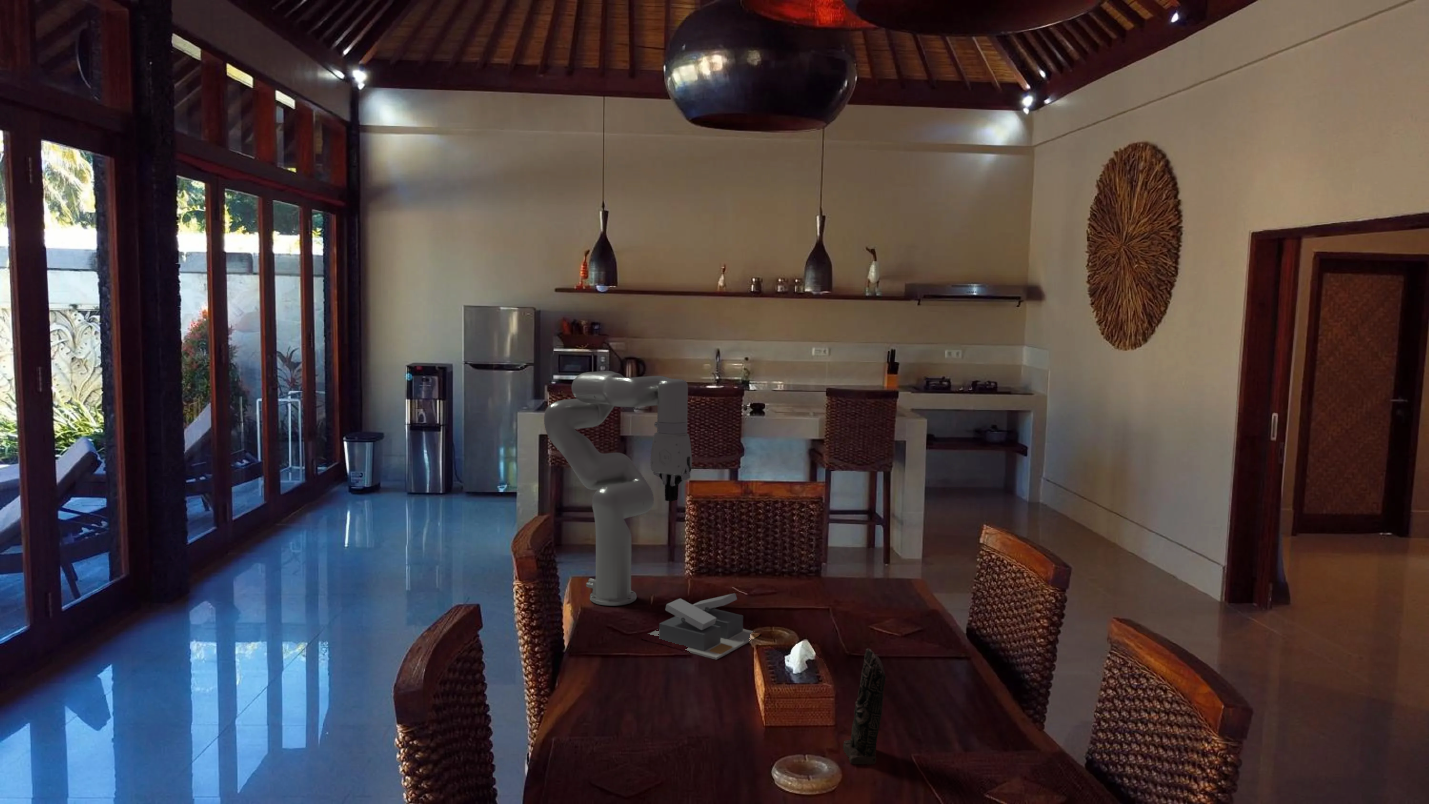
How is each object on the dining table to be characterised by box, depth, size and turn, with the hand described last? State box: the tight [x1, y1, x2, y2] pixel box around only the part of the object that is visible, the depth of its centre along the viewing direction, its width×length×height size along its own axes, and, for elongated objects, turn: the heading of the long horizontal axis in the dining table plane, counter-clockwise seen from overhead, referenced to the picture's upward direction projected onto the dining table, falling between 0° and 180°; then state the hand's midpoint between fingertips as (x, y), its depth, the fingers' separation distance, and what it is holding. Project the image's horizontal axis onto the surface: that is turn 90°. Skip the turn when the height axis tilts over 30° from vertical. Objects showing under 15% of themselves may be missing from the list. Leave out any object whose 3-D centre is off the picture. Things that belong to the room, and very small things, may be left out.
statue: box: [842, 648, 887, 765], centre depth 180 cm, size 7×7×20 cm
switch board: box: [648, 608, 753, 660], centre depth 241 cm, size 22×20×4 cm
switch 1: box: [665, 598, 716, 630], centre depth 236 cm, size 11×6×2 cm, turn 57°
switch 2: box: [692, 593, 738, 612], centre depth 244 cm, size 11×6×2 cm, turn 55°
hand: (671, 500), depth 250 cm, fingers closed
